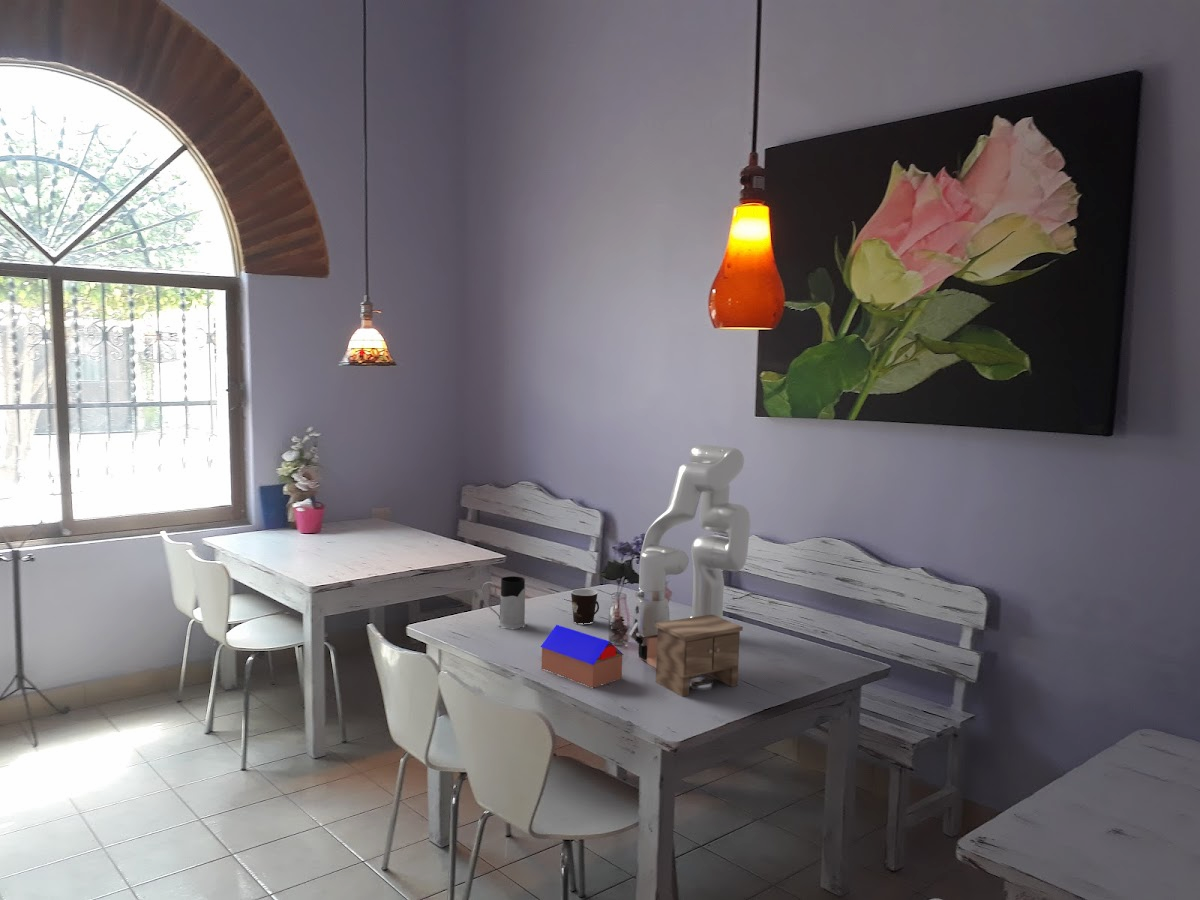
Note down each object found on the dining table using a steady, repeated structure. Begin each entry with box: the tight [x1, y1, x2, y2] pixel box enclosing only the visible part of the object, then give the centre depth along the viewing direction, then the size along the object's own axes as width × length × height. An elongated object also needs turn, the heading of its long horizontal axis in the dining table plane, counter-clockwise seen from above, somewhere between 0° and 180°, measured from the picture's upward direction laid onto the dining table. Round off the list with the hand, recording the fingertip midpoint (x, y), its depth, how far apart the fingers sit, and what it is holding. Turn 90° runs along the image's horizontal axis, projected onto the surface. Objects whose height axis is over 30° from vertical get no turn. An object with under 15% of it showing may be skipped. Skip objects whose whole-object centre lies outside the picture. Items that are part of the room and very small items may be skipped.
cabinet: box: [655, 615, 744, 698], centre depth 240 cm, size 14×19×16 cm
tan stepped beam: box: [638, 635, 698, 679], centre depth 252 cm, size 22×5×7 cm, turn 31°
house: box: [540, 624, 624, 688], centre depth 245 cm, size 12×20×12 cm, turn 47°
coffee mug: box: [570, 588, 600, 624], centre depth 293 cm, size 12×9×10 cm
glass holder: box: [481, 575, 526, 629], centre depth 288 cm, size 9×14×15 cm, turn 88°
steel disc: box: [689, 676, 713, 691], centre depth 239 cm, size 6×6×2 cm
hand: (649, 656), depth 259 cm, fingers closed on tan stepped beam, 4 cm apart
